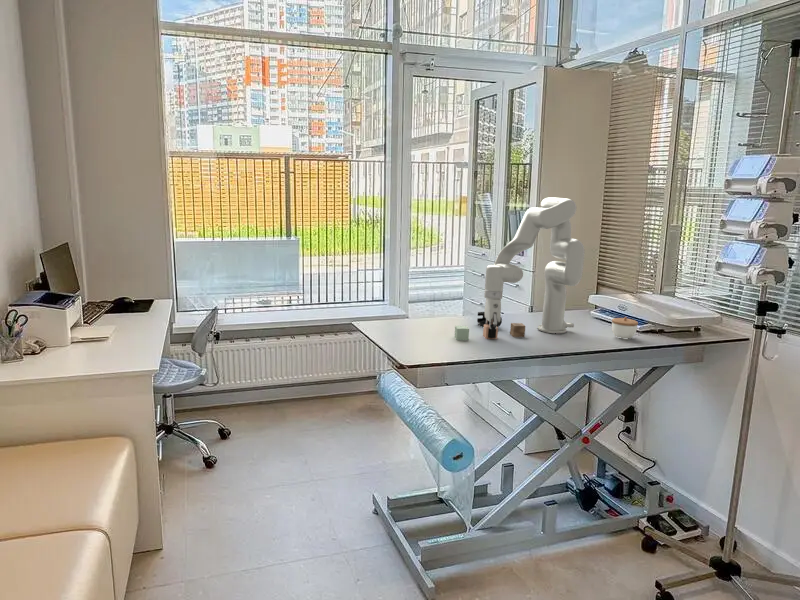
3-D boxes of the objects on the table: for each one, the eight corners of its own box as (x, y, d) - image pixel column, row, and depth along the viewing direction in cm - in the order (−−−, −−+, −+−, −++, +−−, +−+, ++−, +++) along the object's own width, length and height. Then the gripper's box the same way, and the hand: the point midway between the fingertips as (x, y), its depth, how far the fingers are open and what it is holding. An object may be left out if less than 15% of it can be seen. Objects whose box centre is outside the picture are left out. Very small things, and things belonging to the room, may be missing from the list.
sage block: (466, 337, 252) (466, 325, 251) (468, 340, 247) (469, 328, 246) (454, 337, 252) (455, 325, 251) (456, 340, 247) (457, 328, 246)
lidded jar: (616, 340, 258) (619, 319, 256) (606, 334, 268) (608, 314, 266) (640, 341, 259) (643, 320, 257) (628, 334, 269) (631, 314, 267)
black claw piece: (501, 328, 270) (502, 314, 268) (488, 329, 267) (489, 315, 265) (489, 323, 278) (490, 309, 277) (476, 324, 275) (477, 310, 274)
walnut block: (521, 334, 261) (522, 323, 260) (524, 337, 257) (525, 326, 256) (510, 334, 261) (510, 323, 260) (513, 337, 256) (514, 325, 255)
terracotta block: (494, 335, 256) (495, 324, 255) (497, 339, 251) (498, 327, 250) (482, 335, 256) (483, 324, 255) (485, 338, 251) (486, 327, 250)
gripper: (507, 298, 242) (503, 341, 246) (497, 290, 258) (493, 331, 262) (489, 298, 241) (486, 341, 245) (480, 290, 258) (477, 330, 261)
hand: (490, 335), depth 253 cm, fingers closed on terracotta block, 5 cm apart
